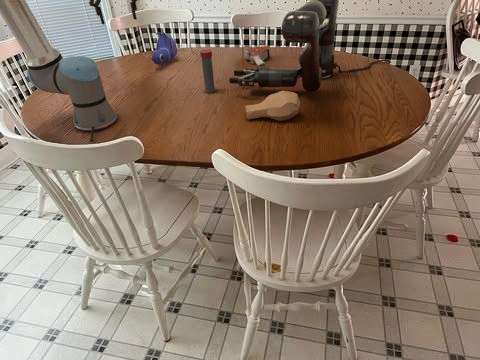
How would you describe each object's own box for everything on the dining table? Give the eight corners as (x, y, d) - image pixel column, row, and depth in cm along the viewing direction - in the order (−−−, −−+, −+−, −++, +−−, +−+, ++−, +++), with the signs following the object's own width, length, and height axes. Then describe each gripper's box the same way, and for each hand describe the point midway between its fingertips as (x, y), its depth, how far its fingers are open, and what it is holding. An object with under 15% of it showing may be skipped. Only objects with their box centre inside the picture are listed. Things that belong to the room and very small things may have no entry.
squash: (303, 121, 125) (302, 100, 119) (248, 131, 127) (244, 110, 121) (298, 104, 133) (297, 83, 126) (246, 113, 135) (242, 93, 128)
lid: (198, 55, 144) (197, 50, 143) (209, 53, 146) (208, 48, 145) (203, 58, 141) (202, 53, 140) (214, 56, 143) (213, 51, 142)
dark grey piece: (203, 90, 153) (199, 52, 143) (212, 88, 155) (208, 50, 145) (207, 93, 150) (203, 54, 140) (216, 91, 152) (212, 52, 142)
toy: (165, 64, 197) (145, 70, 175) (161, 31, 190) (139, 33, 168) (182, 63, 195) (163, 69, 172) (178, 30, 188) (158, 32, 166)
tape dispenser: (262, 73, 170) (281, 58, 183) (262, 62, 167) (281, 48, 179) (231, 66, 178) (251, 52, 190) (230, 56, 174) (251, 42, 187)
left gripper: (134, -40, 146) (145, 15, 159) (71, -35, 137) (87, 24, 149) (139, -40, 141) (150, 18, 153) (74, -34, 131) (90, 27, 144)
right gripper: (273, 62, 147) (234, 62, 150) (268, 74, 136) (227, 73, 139) (273, 80, 151) (235, 79, 154) (268, 93, 140) (228, 92, 143)
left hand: (119, 21), depth 151 cm, fingers open, 13 cm apart
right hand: (231, 76), depth 146 cm, fingers open, 8 cm apart
